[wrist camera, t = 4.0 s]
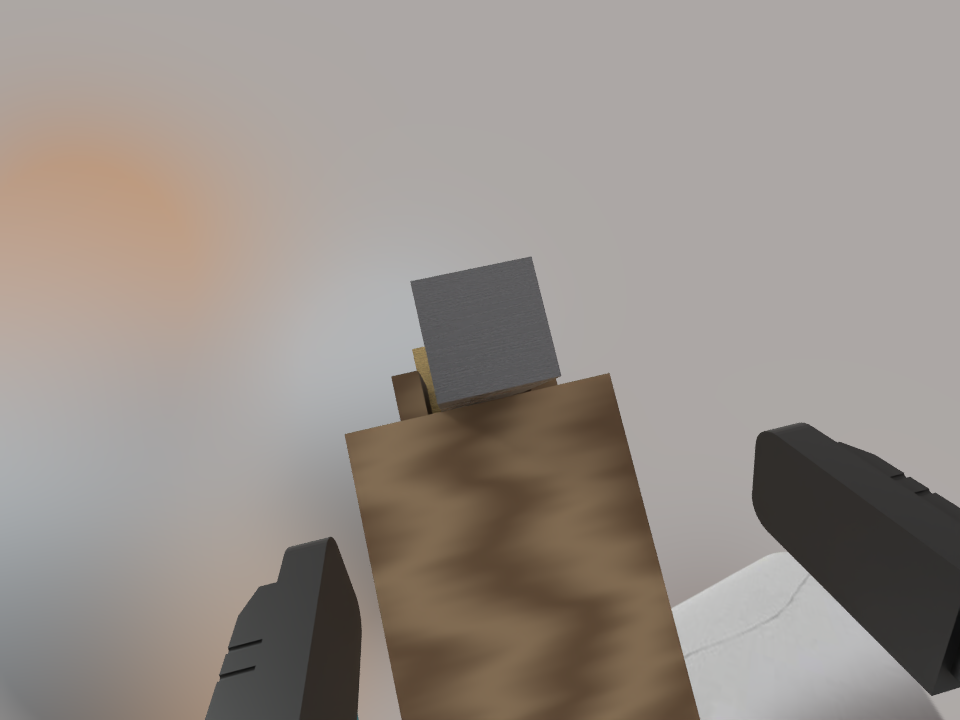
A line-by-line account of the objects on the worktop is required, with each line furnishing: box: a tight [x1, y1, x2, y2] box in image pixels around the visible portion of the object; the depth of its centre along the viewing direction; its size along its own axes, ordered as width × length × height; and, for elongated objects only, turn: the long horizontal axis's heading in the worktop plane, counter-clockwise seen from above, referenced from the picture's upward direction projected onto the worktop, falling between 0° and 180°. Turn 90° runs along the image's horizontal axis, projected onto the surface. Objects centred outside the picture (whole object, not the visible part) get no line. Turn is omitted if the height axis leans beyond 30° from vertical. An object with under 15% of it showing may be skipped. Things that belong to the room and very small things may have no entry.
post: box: [345, 371, 700, 720], centre depth 28 cm, size 12×14×34 cm
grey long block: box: [411, 257, 561, 414], centre depth 24 cm, size 6×21×4 cm, turn 4°
